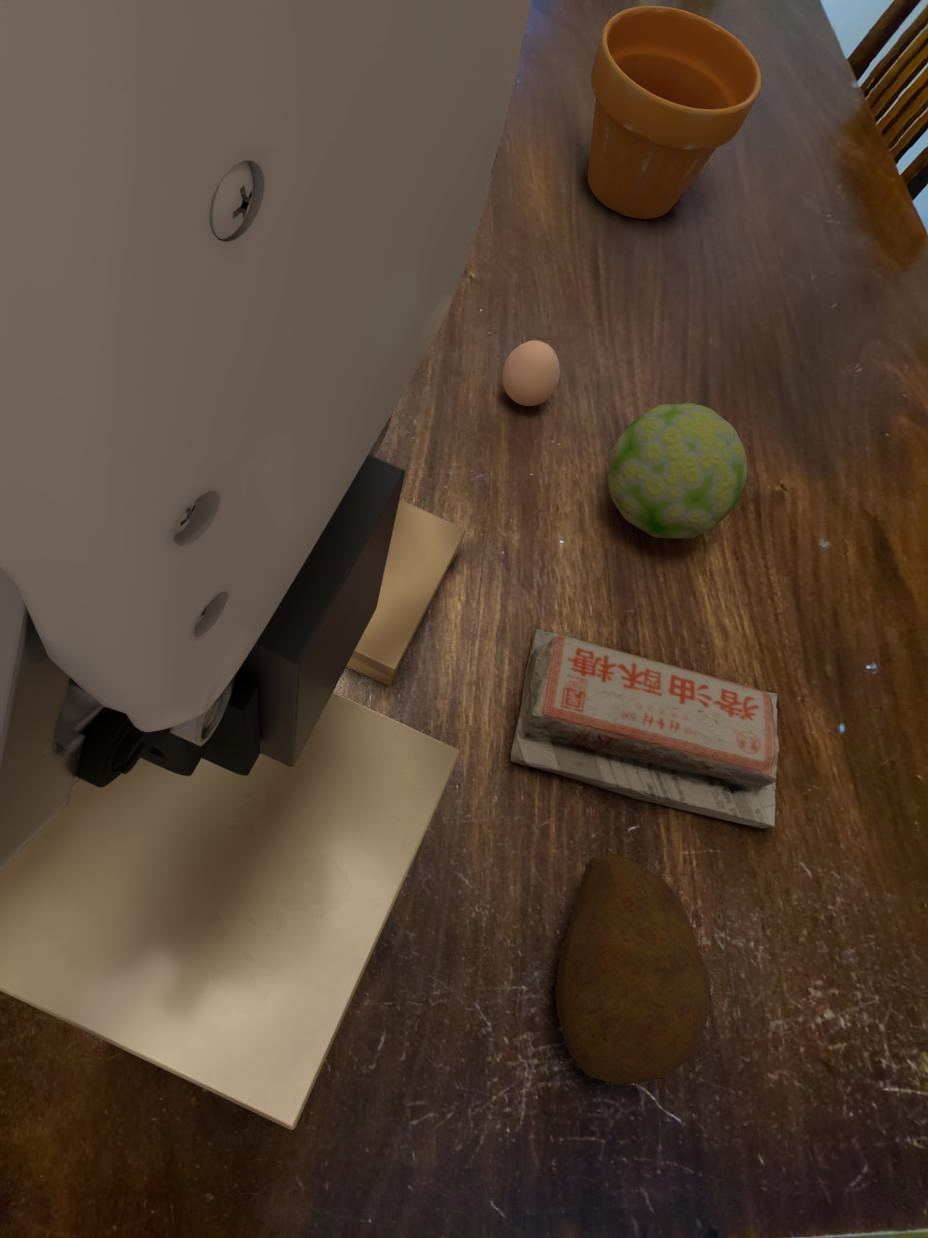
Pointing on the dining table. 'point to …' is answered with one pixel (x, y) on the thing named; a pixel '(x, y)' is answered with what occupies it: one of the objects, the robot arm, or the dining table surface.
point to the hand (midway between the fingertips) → (245, 633)
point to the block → (324, 612)
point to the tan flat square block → (405, 589)
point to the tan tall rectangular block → (225, 904)
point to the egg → (531, 373)
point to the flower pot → (663, 105)
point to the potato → (630, 976)
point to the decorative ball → (677, 471)
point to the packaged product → (649, 730)
